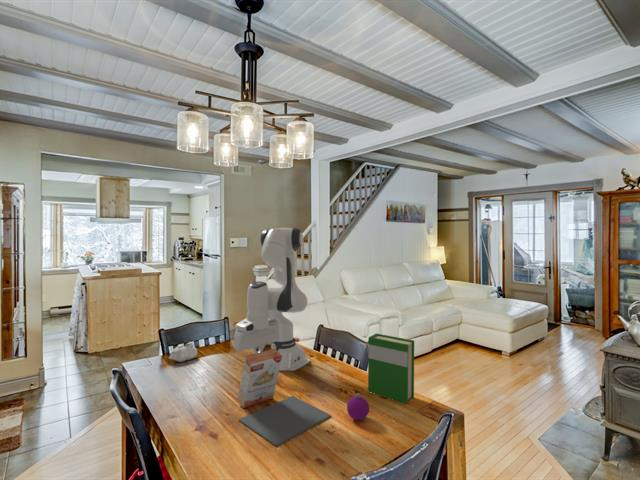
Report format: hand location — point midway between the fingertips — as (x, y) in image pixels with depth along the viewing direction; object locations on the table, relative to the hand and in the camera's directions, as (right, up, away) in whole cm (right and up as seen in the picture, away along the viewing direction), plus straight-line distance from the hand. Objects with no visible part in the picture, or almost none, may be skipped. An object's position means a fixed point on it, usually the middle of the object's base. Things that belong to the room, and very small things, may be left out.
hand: (257, 356), depth 139 cm
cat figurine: (-49, -18, +47) cm, 70 cm away
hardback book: (+55, -19, +8) cm, 59 cm away
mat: (+12, -19, -12) cm, 26 cm away
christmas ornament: (+39, -19, -12) cm, 45 cm away
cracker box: (-1, -18, +1) cm, 18 cm away
